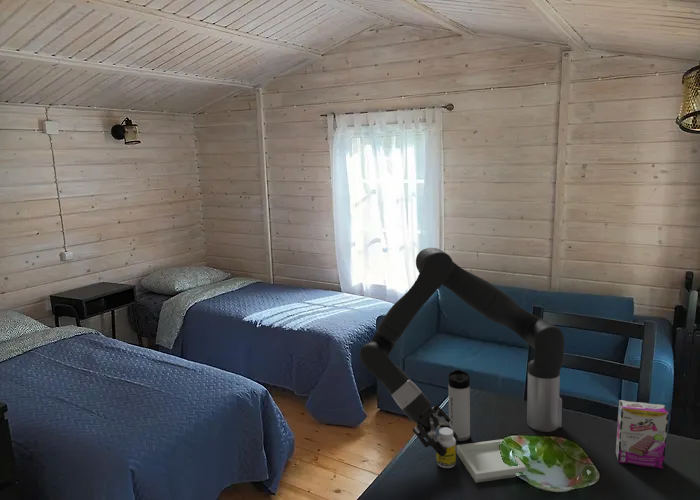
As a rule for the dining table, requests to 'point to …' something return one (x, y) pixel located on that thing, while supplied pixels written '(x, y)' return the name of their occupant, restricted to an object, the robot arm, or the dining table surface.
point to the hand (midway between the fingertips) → (450, 446)
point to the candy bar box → (641, 434)
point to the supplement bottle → (447, 448)
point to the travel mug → (459, 404)
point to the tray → (487, 461)
